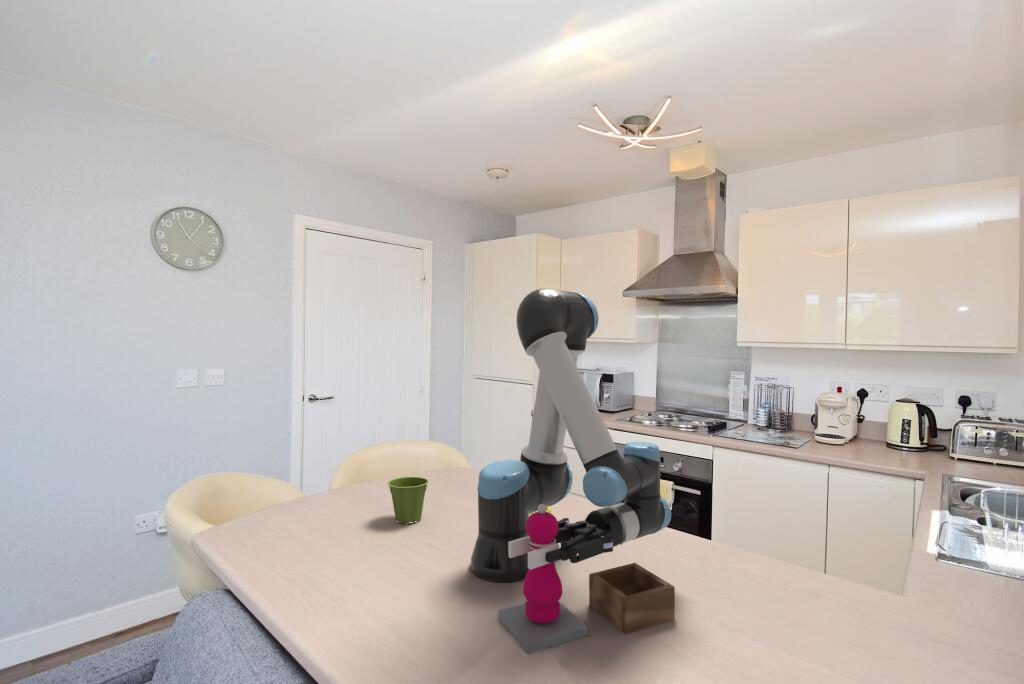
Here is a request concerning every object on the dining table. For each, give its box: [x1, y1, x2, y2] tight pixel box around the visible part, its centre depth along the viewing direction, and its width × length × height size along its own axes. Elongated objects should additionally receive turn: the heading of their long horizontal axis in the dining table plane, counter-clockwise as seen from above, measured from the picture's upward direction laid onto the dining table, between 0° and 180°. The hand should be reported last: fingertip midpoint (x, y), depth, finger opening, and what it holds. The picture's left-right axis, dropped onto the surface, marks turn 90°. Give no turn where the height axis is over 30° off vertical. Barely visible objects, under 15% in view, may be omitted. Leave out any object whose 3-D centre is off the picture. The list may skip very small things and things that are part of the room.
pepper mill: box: [522, 504, 563, 623], centre depth 93 cm, size 7×7×20 cm
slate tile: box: [497, 600, 589, 655], centre depth 93 cm, size 12×12×2 cm
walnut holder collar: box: [588, 562, 676, 635], centre depth 98 cm, size 11×11×6 cm
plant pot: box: [386, 476, 430, 524], centre depth 148 cm, size 12×12×11 cm
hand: (519, 555), depth 90 cm, fingers closed on pepper mill, 5 cm apart
